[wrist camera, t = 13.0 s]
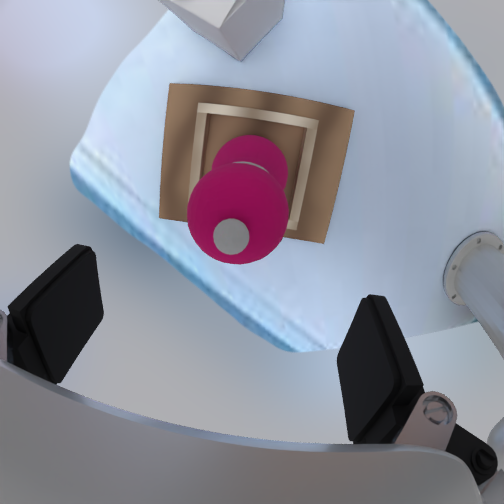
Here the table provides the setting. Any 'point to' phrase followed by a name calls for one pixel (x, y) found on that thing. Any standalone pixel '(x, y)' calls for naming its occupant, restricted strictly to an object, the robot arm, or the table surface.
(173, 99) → the stand
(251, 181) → the pepper mill
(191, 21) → the milk carton
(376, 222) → the table surface
